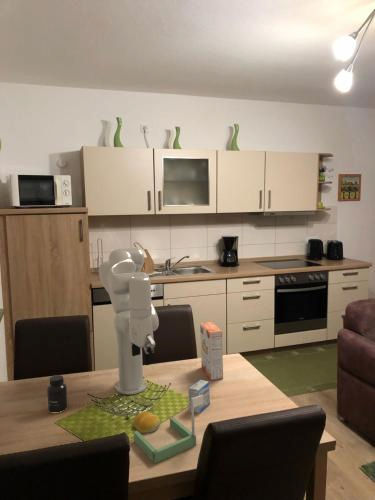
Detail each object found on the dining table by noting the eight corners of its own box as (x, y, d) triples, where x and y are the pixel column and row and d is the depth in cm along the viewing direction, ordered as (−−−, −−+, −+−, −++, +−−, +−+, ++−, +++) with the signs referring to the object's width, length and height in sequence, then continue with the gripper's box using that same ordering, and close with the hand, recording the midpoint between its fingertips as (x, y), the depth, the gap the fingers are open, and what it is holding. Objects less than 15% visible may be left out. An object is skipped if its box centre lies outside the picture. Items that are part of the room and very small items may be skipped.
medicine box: (199, 414, 135) (198, 390, 134) (188, 410, 137) (188, 387, 136) (210, 404, 142) (209, 381, 141) (199, 401, 144) (199, 379, 143)
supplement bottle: (49, 416, 136) (47, 383, 135) (46, 407, 142) (44, 376, 141) (69, 410, 139) (67, 379, 138) (66, 402, 146) (64, 372, 144)
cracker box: (200, 367, 174) (199, 322, 171) (213, 365, 175) (212, 321, 173) (209, 381, 160) (208, 332, 158) (223, 379, 162) (222, 330, 159)
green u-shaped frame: (134, 440, 121) (132, 395, 119) (181, 421, 131) (180, 379, 129) (154, 463, 110) (153, 413, 108) (205, 440, 120) (204, 394, 118)
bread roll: (145, 437, 123) (144, 425, 122) (129, 425, 130) (129, 414, 129) (165, 427, 128) (165, 415, 128) (150, 416, 135) (149, 405, 134)
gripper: (120, 308, 138) (122, 354, 141) (142, 320, 124) (144, 370, 126) (139, 305, 143) (140, 349, 145) (162, 315, 128) (164, 365, 130)
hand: (142, 359), depth 135 cm, fingers open, 9 cm apart
